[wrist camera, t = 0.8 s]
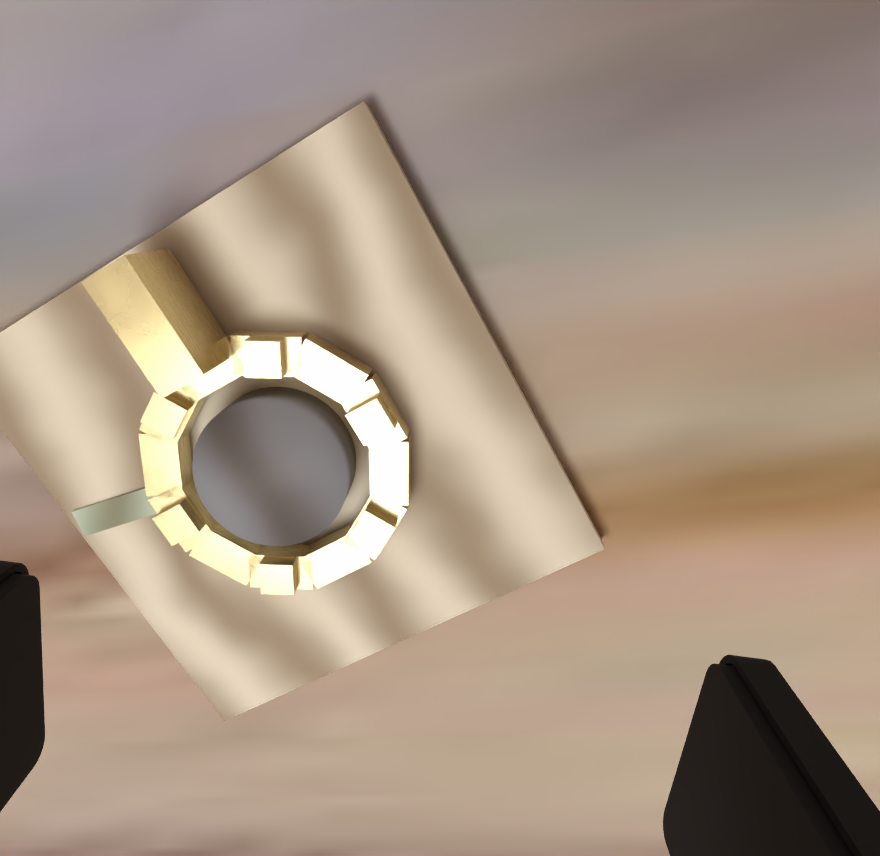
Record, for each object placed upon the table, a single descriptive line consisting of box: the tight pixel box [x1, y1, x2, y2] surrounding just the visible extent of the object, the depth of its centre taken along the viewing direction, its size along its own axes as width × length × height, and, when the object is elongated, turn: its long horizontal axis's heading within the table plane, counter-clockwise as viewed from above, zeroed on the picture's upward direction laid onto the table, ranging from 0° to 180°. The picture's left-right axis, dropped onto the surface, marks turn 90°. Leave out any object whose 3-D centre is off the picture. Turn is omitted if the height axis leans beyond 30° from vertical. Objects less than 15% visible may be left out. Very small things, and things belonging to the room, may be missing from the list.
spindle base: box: [0, 101, 605, 721], centre depth 37 cm, size 26×26×4 cm
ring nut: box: [81, 249, 411, 595], centre depth 35 cm, size 14×19×5 cm
